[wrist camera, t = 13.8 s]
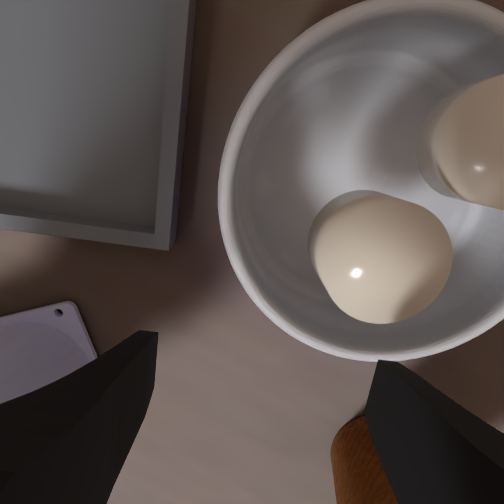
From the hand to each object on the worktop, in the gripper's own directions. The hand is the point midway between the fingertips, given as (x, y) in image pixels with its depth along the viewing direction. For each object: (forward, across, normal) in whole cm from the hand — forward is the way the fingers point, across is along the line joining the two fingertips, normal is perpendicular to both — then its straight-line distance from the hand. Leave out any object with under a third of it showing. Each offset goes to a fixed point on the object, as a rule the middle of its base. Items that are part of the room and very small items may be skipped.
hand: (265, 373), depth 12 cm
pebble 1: (+5, -4, -4) cm, 7 cm away
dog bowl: (+11, -5, -6) cm, 13 cm away
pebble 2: (+5, -7, -8) cm, 12 cm away
